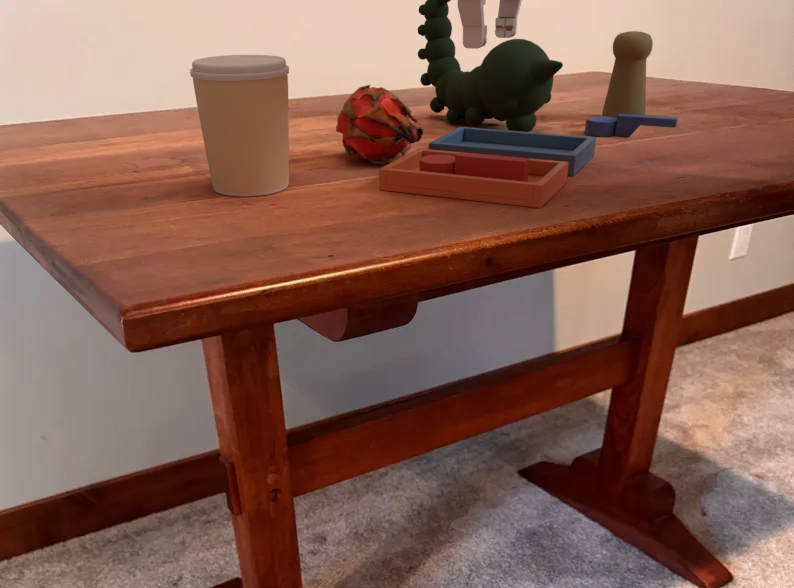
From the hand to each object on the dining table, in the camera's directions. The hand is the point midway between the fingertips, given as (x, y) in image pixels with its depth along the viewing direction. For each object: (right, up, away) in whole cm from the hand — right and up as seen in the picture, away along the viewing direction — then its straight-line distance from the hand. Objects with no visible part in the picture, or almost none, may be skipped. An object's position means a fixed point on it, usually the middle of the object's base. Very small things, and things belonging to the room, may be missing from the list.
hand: (490, 42), depth 76 cm
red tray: (-1, -12, +6) cm, 13 cm away
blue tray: (+4, -6, +16) cm, 18 cm away
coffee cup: (-24, -12, +6) cm, 28 cm away
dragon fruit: (-11, -6, +16) cm, 21 cm away
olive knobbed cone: (+23, +6, +37) cm, 44 cm away
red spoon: (-1, -12, +5) cm, 13 cm away
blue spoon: (+21, 0, +26) cm, 34 cm away
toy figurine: (+3, +3, +32) cm, 33 cm away
